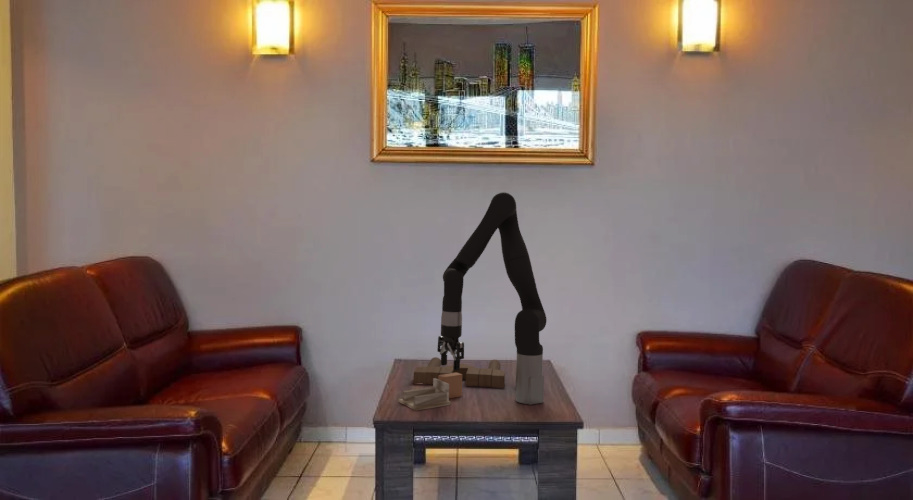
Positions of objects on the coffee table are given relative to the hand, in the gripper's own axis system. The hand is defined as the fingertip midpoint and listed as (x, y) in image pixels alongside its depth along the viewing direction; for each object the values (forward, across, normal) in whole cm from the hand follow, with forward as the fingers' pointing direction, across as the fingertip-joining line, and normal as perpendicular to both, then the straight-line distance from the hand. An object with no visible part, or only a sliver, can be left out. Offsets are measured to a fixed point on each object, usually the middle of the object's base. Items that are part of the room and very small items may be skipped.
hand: (449, 367), depth 251 cm
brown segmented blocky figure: (+12, +22, -20) cm, 32 cm away
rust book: (+10, -1, 0) cm, 11 cm away
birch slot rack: (+10, -4, +12) cm, 17 cm away
